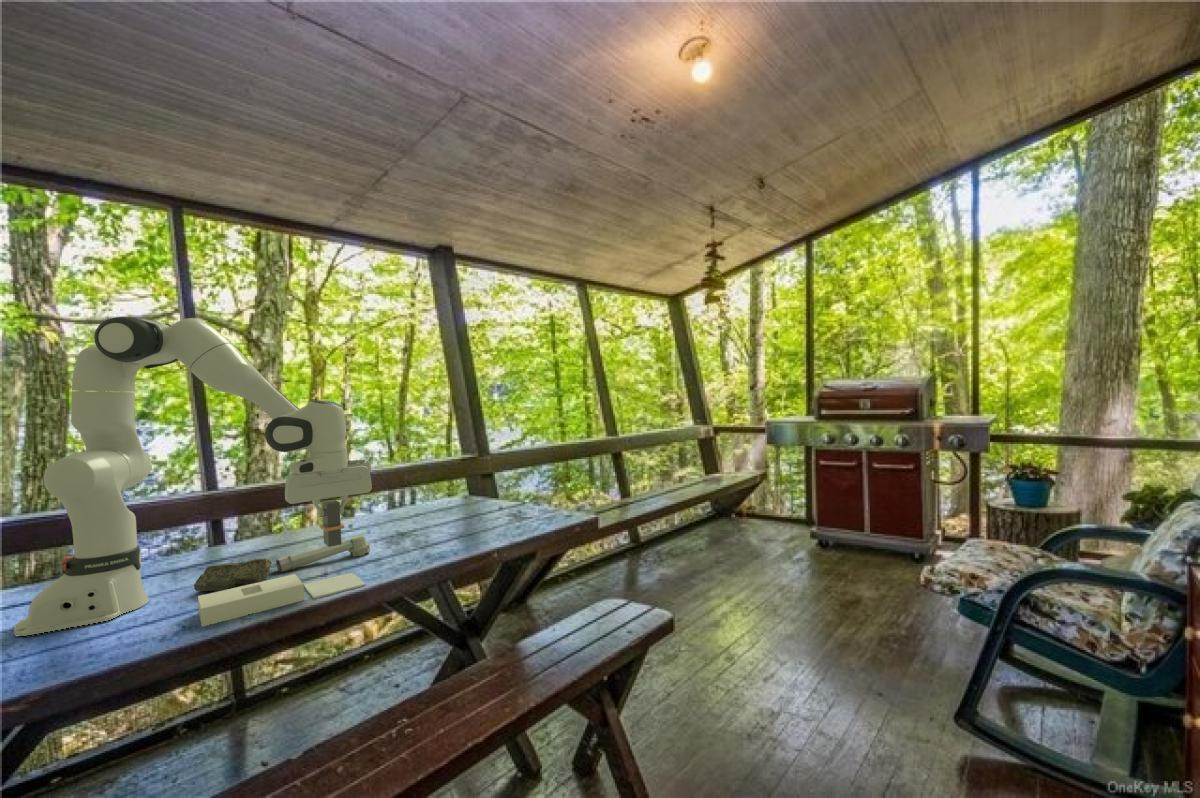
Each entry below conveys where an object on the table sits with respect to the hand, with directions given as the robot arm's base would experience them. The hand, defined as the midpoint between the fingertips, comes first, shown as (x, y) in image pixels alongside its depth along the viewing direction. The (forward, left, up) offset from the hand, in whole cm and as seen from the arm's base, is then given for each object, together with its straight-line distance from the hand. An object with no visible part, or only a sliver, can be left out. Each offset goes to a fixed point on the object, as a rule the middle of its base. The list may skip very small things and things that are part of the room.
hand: (331, 514), depth 136 cm
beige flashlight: (+4, +24, -19) cm, 31 cm away
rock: (-19, +21, -19) cm, 35 cm away
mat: (0, 0, -19) cm, 19 cm away
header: (-18, 0, -19) cm, 26 cm away
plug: (0, 0, -8) cm, 8 cm away
